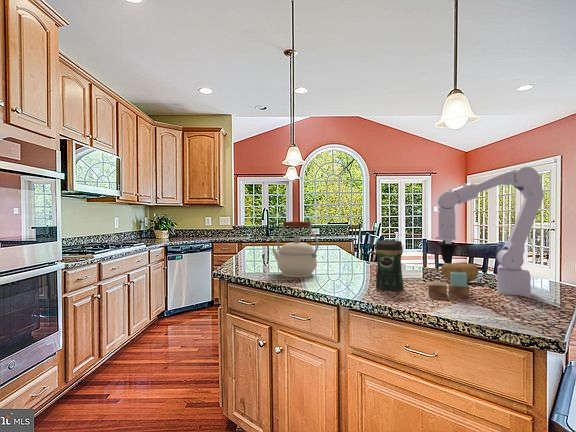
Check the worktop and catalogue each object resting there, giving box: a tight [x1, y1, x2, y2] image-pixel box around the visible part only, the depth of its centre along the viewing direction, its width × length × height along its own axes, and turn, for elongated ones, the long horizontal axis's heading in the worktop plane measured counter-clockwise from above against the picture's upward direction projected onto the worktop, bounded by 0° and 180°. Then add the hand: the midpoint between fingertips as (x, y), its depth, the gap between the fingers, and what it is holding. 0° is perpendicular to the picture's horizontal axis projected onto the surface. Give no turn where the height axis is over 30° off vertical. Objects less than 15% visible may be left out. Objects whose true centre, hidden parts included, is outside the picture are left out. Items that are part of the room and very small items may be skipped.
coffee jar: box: [375, 239, 404, 292], centre depth 128 cm, size 10×8×19 cm
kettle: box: [271, 220, 320, 279], centre depth 161 cm, size 25×18×25 cm
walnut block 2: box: [448, 283, 470, 301], centre depth 114 cm, size 6×6×4 cm
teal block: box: [449, 272, 468, 287], centre depth 114 cm, size 4×4×4 cm
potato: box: [440, 262, 479, 283], centre depth 143 cm, size 10×14×8 cm
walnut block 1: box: [427, 281, 448, 299], centre depth 116 cm, size 6×6×4 cm
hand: (446, 262), depth 128 cm, fingers open, 7 cm apart
